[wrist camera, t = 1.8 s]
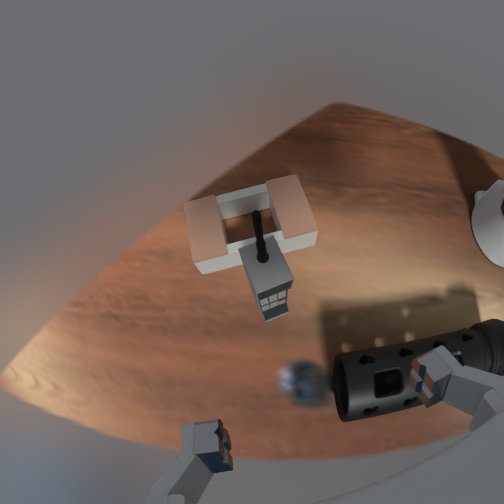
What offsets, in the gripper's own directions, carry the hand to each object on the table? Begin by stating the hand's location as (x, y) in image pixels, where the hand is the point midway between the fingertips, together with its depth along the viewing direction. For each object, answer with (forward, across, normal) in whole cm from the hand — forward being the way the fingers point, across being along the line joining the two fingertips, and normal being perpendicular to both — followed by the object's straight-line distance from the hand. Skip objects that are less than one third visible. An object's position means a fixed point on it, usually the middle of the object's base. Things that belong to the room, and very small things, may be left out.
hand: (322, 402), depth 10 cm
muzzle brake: (+18, -19, +26) cm, 37 cm away
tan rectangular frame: (+38, 0, +5) cm, 39 cm away
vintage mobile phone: (+30, 0, +14) cm, 33 cm away
